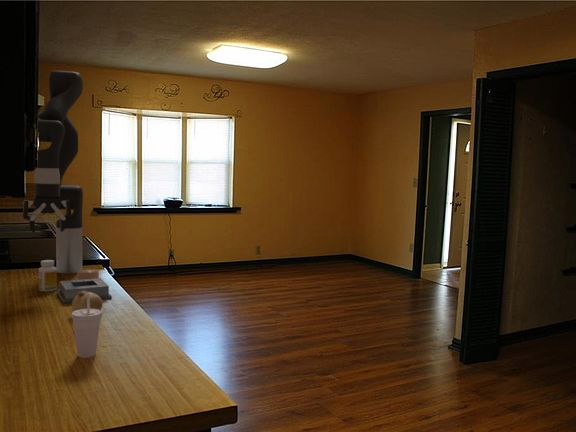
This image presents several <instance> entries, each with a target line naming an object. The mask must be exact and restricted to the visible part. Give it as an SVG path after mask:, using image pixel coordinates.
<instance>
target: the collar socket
mask: <svg viewBox="0 0 576 432" xmlns="http://www.w3.org/2000/svg"><path fill="white" fill-rule="evenodd" d="M109 288H110V286H109V285H108V283H106V282H105V281H104V280H103V279H102V278H101V277H99V278H97V279H84V280H77V279H73V280H72V279H71V280H60V281H59V289H56V294H57V295H58V297H59V299H60V300H61V302H62V303H63V304H64V305H65V304H72V302H73V300H74V298H75V297H76V296H77V295H78V293H79V292H82V291H86V292H91V293H95V294H96V295H98V296H99V297H100V298H101V299H102V301H103V300H112V299H113V296H112V295H111V293H110V292H109V291H110V290H109Z"/></svg>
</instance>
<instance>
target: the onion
mask: <svg viewBox="0 0 576 432" xmlns="http://www.w3.org/2000/svg"><path fill="white" fill-rule="evenodd" d="M87 293H90V309H99V310H101V311H102V309H103V304H104V303H103V300H102V299H101V298H100V297H99V296H98V295H96V294H95V293H91V292H86V291H82V292H79V293H78V295H77V296H76V297H75V298H74V300H73V302H72V303H71V310H72V312H74V311H76V310H80V309H87Z"/></svg>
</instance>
